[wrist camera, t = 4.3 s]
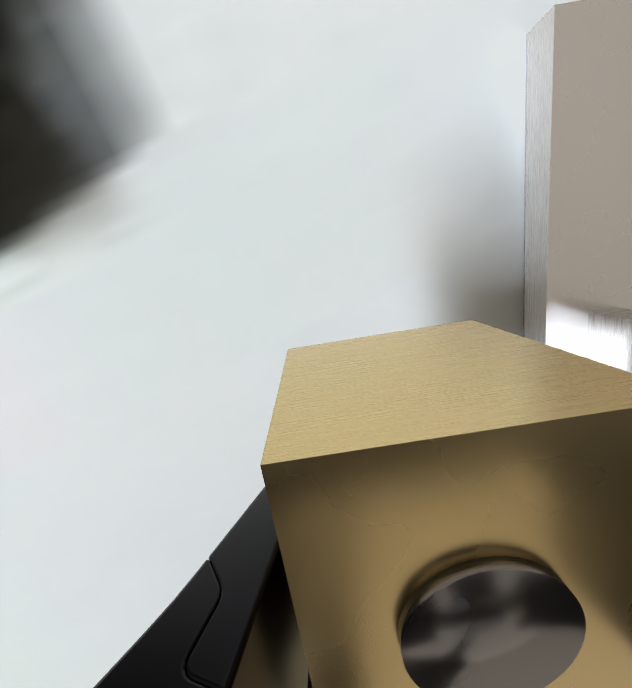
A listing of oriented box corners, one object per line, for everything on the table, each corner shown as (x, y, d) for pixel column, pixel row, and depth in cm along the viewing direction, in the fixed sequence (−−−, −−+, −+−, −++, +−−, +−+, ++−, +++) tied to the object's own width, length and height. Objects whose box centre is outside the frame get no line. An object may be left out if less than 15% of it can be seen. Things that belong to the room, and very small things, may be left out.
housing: (478, 504, 10) (658, 760, 5) (321, 528, 10) (335, 804, 5) (471, 320, 8) (728, 405, 3) (288, 349, 8) (257, 477, 3)
